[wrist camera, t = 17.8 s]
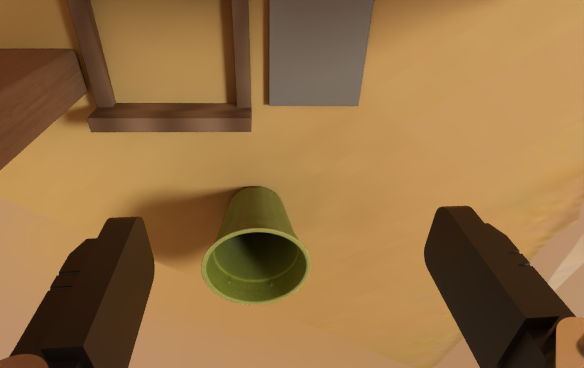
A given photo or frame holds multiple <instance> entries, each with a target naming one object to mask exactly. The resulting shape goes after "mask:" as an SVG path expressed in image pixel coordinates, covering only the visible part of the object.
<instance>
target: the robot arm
mask: <svg viewBox="0 0 584 368" xmlns="http://www.w3.org/2000/svg"><path fill="white" fill-rule="evenodd" d="M424 258H425V263H426V266H427V269H428V271H429V272H430V274H431V276H432V278H433V280H434V282H435V284H436V286H437V287H438V289H439V291H440V293H441V295H442V297H443V299H444V301H445V303H446V304H447V306H448V308H449V310H450V312H451V314H452V316H453V318H454V319H455V321H456V323H457V325H458V327H459V329H460V331H461V333H462V335H463V336H464V338H465V340H466V342H467V344H468V346H469V348H470V349H471V351H472V353H473V355H474V357H475V359H476V360H477V363H478V364H479V366H480V368H584V318H581V317H576V316H575V315H574V314H573V313H572V312H571V310H570V309H569V308H568V307H567V306H566V305H565V303H564V302H563V301H562V300H561V299H560V298H559V296H558V295H557V294H556V293H555V292H554V291H553V289H552V288H551V287H550V286H549V285H548V284H547V282H546V281H545V280H544V279H543V278H542V277H541V275H540V274H539V273H538V272H537V271H536V270H535V268H534V267H533V266H530V263H529V261H528V260H527V259H526V258H525V257H524V256H523V254H520V253H519V250H518V249H517V247H516V246H515V245H514V244H513V243H512V242H511V240H510V239H509V238H508V237H507V236H506V235H505V234H503V233H502V232H500V231H499V230H497V229H496V228H495V227H493V226H492V225H490V224H489V223H484V222H483V221H482V220H481V219H480V217H479V216H478V215H477V214H476V212H475V211H474V210H473V209H472V208H471V207H469V206H447V207H440V208H438V209H437V211H436V213H435V216H434V219H433V223H432V226H431V229H430V232H429V235H428V238H427V241H426V244H425V249H424ZM153 279H154V258H153V254H152V250H151V247H150V243H149V239H148V236H147V232H146V228H145V224H144V221H143V219H142V218H141V217H121V218H109V219H108V220H107V221H106V222H105V224H104V226H103V228H102V230H101V232H100V234H99V236H98V238H96V239H86V240H85V241H84V242H83V243H82V244H81V245H79V246H78V247H77V248H76V249H75V250H74V251H73V252H71V253H70V254H69V256H68V257H67V259H66V261H65V263H64V264H63V266H62V268H61V269H60V271H59V275H58V276H56V278H55V280H54V281H53V283H52V285H51V287H50V288H51V289H50V291H48V292H47V293H46V295H45V297H44V299H43V300H42V302H41V304H40V305H39V307H38V309H37V311H36V313H35V314H34V316H33V318H32V319H31V321H30V323H29V324H28V326H27V328H26V330H25V331H24V333H23V335H22V336H21V338H20V340H19V342H18V343H17V345H16V347H15V348H14V350H13V352H12V353H11V355H10V356H9V357H8V358H5V359H2V360H0V368H128V366H129V362H130V359H131V355H132V352H133V348H134V345H135V341H136V338H137V335H138V331H139V328H140V325H141V321H142V318H143V314H144V311H145V307H146V304H147V300H148V297H149V294H150V290H151V286H152V283H153Z"/></svg>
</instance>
